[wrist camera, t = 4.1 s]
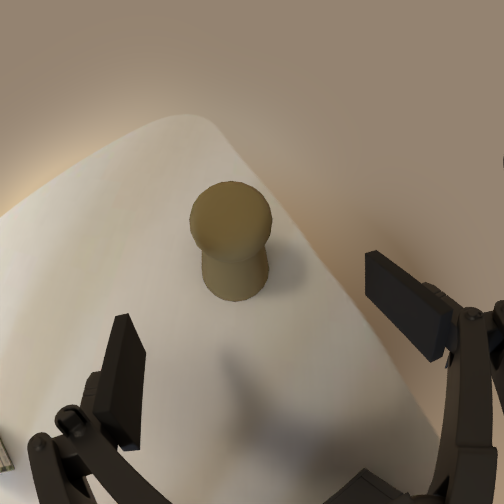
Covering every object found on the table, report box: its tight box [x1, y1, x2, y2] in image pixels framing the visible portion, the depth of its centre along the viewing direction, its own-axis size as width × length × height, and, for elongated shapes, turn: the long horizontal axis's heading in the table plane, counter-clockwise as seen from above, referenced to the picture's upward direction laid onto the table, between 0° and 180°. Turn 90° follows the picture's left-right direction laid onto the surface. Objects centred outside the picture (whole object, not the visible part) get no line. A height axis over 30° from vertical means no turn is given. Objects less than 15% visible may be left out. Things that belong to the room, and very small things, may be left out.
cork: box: [189, 181, 272, 302], centre depth 24 cm, size 6×6×11 cm
